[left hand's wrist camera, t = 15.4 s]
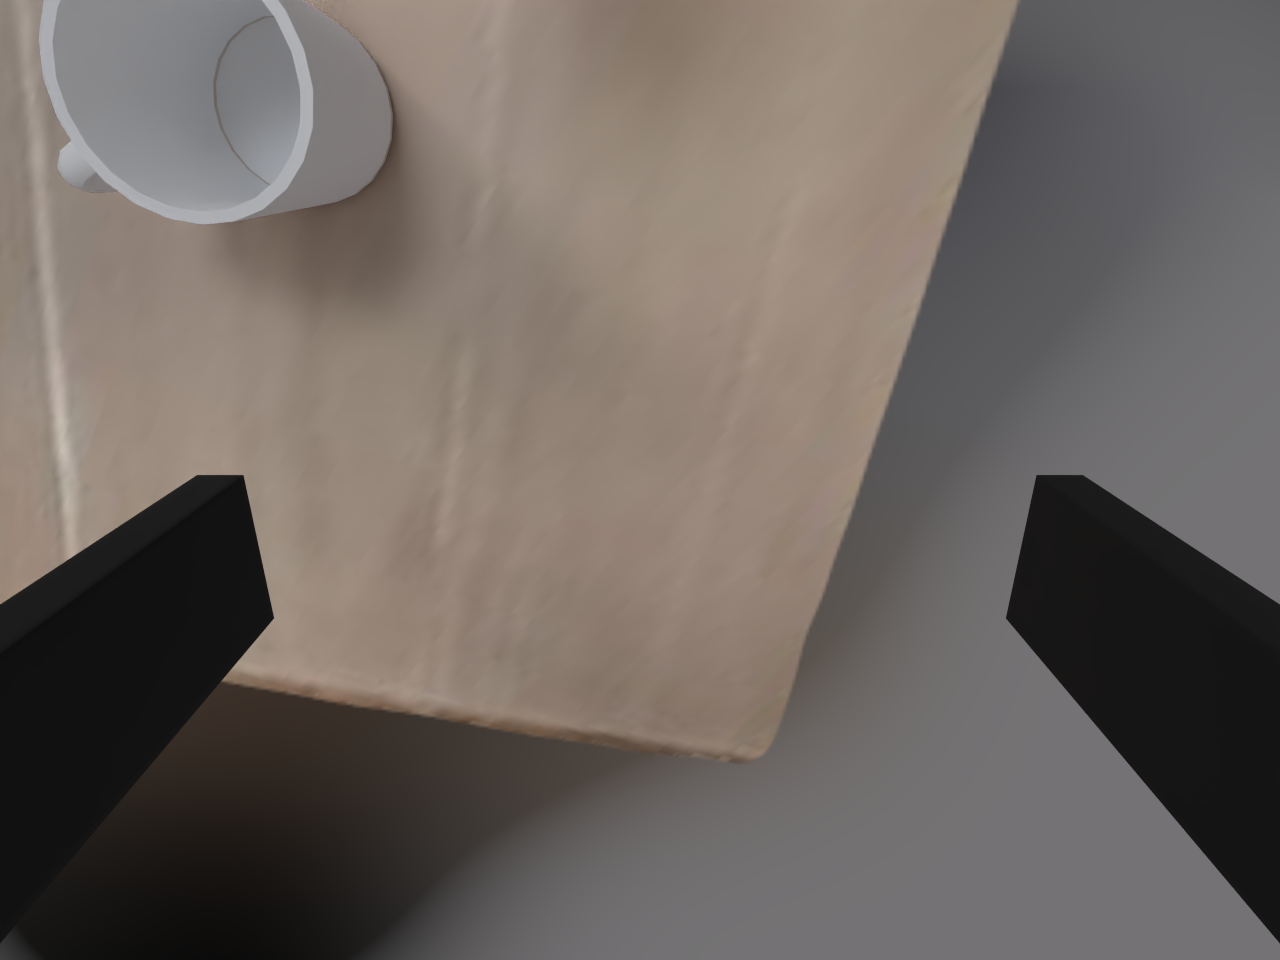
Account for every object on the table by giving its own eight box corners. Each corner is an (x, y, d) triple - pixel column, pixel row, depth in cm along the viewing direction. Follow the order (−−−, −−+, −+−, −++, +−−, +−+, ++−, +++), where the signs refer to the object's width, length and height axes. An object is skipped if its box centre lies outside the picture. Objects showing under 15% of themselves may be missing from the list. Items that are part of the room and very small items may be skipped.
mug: (327, -44, 32) (194, -142, 22) (441, 155, 35) (367, 145, 25) (132, 89, 34) (-68, 51, 24) (256, 267, 37) (121, 297, 27)
